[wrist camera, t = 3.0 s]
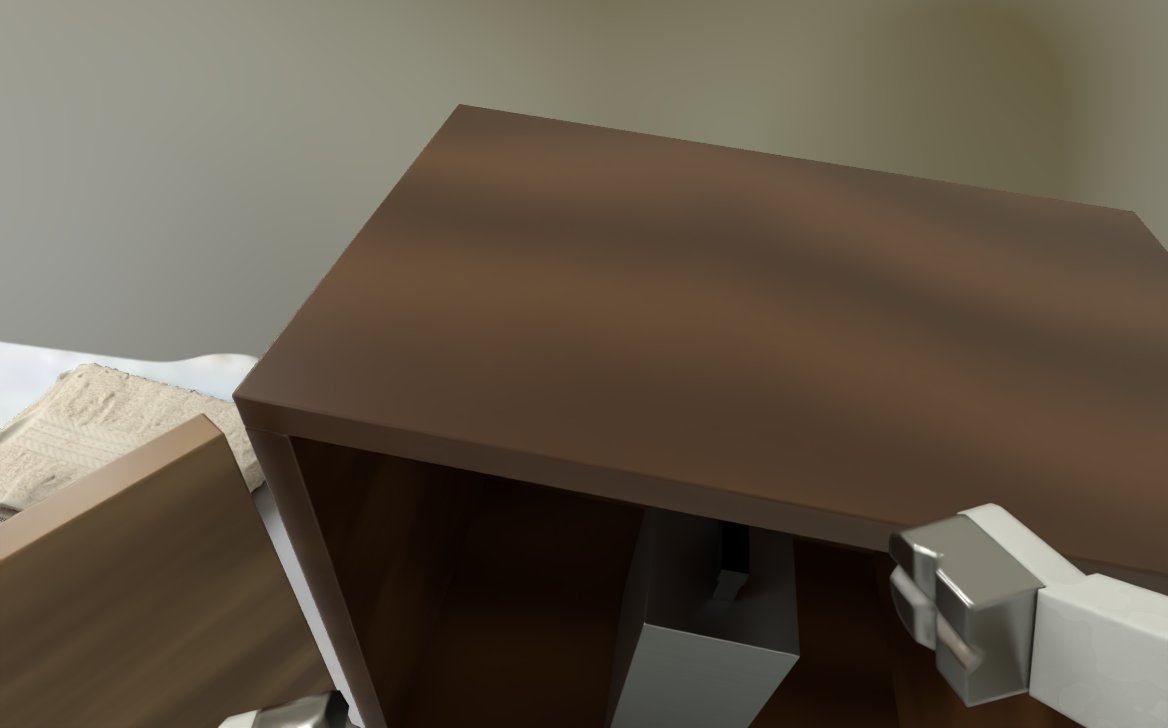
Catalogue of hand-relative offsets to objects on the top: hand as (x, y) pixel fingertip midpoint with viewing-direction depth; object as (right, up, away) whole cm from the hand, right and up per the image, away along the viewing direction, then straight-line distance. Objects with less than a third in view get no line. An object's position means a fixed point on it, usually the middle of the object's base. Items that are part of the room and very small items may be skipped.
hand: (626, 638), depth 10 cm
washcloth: (-31, -3, +36) cm, 47 cm away
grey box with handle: (+4, -13, +27) cm, 31 cm away
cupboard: (+4, -12, +30) cm, 33 cm away
